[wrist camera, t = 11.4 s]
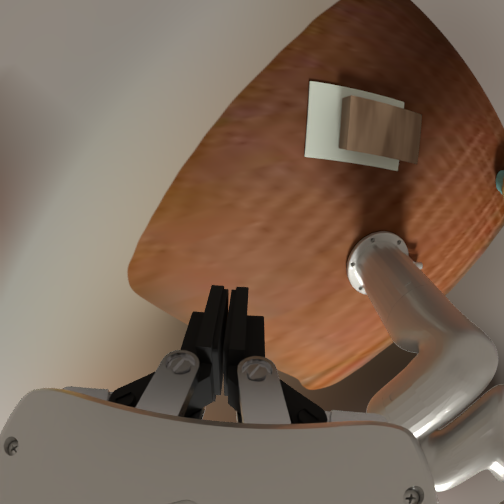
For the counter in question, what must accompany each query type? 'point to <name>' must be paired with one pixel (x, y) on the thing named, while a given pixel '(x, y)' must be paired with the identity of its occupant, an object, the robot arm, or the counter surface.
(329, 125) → the mat
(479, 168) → the counter surface
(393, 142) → the slab
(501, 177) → the cupcake
